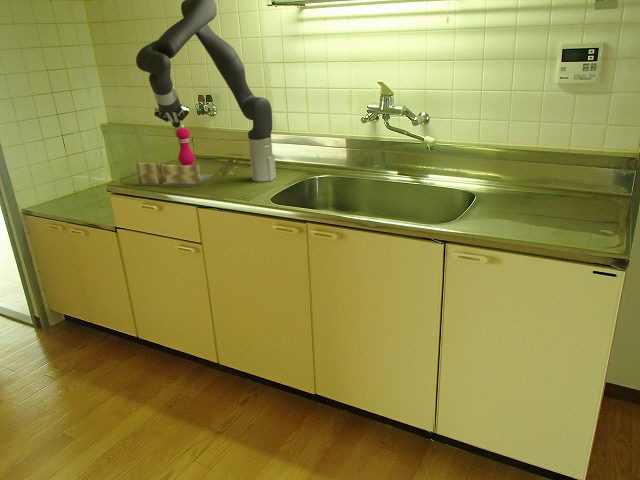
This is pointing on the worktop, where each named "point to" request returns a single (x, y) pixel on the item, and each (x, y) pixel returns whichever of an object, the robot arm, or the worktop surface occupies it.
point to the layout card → (203, 177)
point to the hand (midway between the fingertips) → (177, 125)
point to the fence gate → (180, 174)
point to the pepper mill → (184, 147)
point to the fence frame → (149, 173)
